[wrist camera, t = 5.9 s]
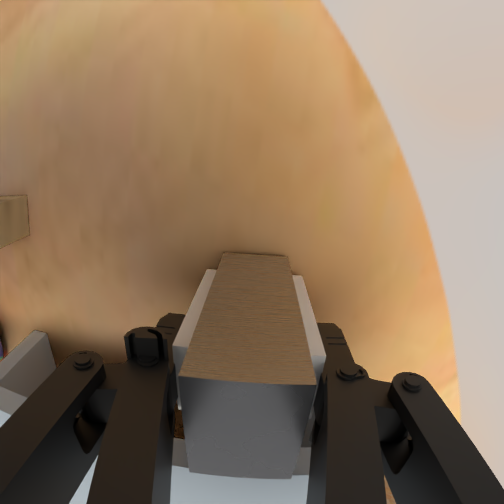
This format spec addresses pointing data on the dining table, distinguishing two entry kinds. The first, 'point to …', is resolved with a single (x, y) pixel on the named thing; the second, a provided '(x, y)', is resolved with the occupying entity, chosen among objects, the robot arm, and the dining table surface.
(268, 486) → the grey u-shaped bridge
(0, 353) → the mug
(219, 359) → the grey piece
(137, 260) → the dining table surface
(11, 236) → the l-shaped tan bracket
